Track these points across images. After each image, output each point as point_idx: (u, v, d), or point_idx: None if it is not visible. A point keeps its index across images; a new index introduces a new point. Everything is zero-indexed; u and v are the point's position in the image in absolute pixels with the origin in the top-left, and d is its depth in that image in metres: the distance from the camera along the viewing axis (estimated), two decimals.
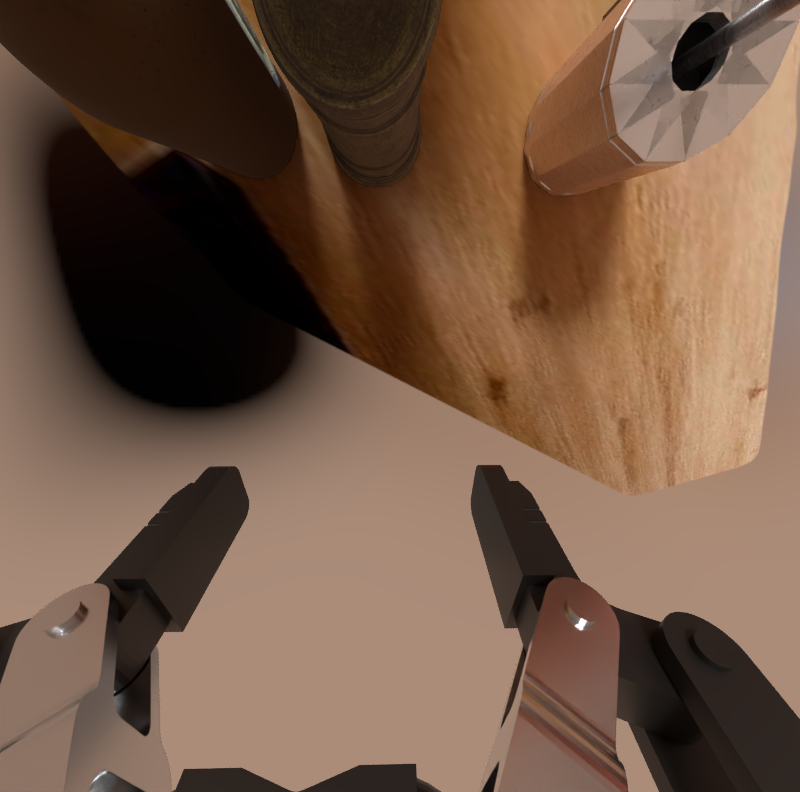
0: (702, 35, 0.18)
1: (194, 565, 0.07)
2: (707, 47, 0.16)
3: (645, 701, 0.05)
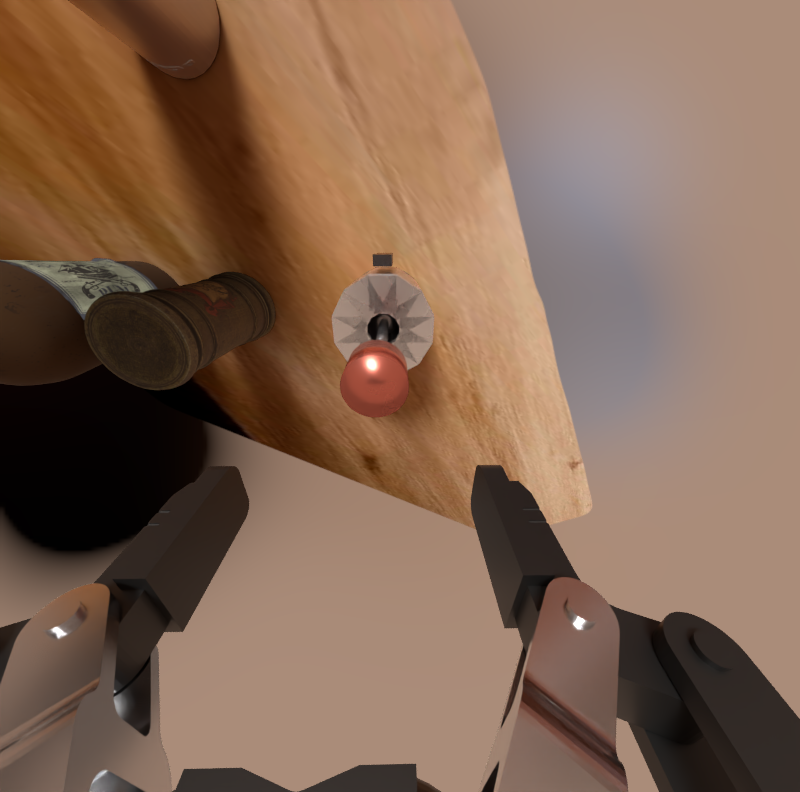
0: None
1: (194, 565, 0.07)
2: None
3: (645, 701, 0.05)
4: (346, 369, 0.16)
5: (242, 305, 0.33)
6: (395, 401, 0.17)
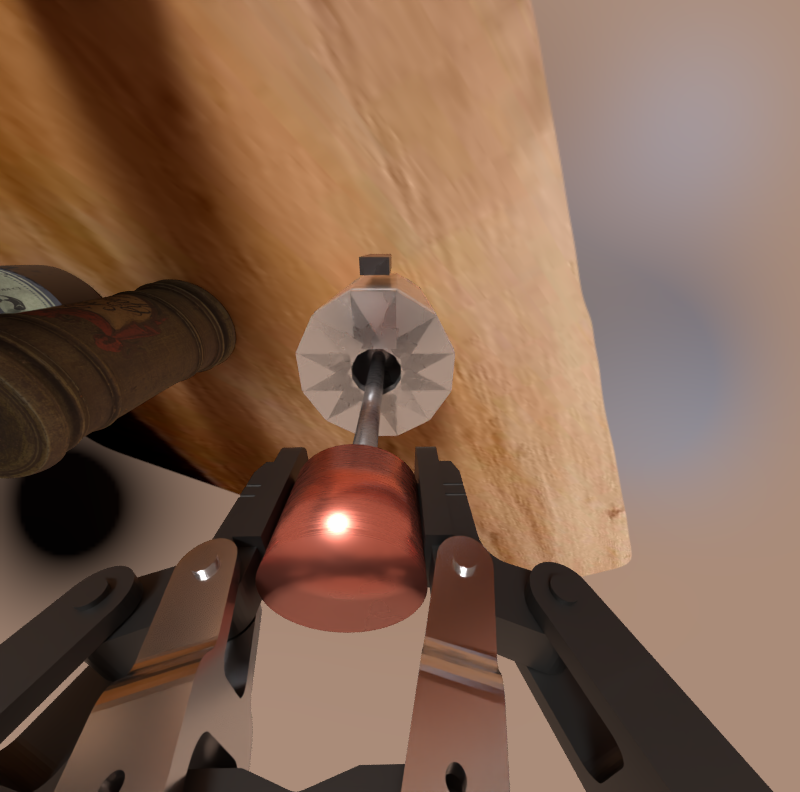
0: None
1: None
2: None
3: (512, 635, 0.06)
4: (266, 560, 0.06)
5: (175, 329, 0.23)
6: (394, 610, 0.07)
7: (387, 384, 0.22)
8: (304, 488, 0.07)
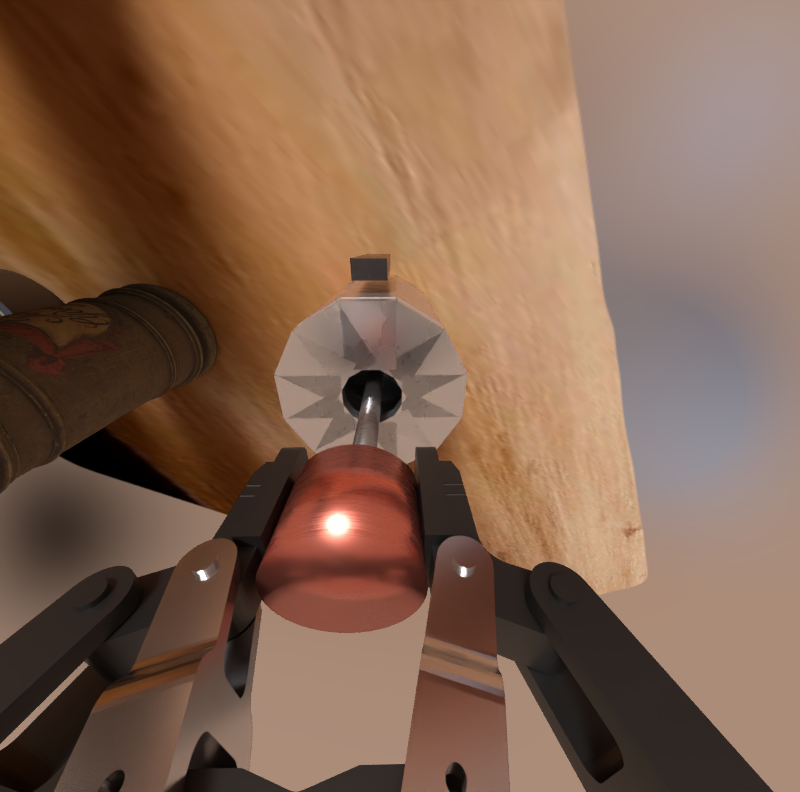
0: None
1: None
2: None
3: (512, 635, 0.06)
4: (266, 560, 0.06)
5: (139, 342, 0.20)
6: (394, 610, 0.07)
7: (387, 384, 0.22)
8: (304, 488, 0.07)
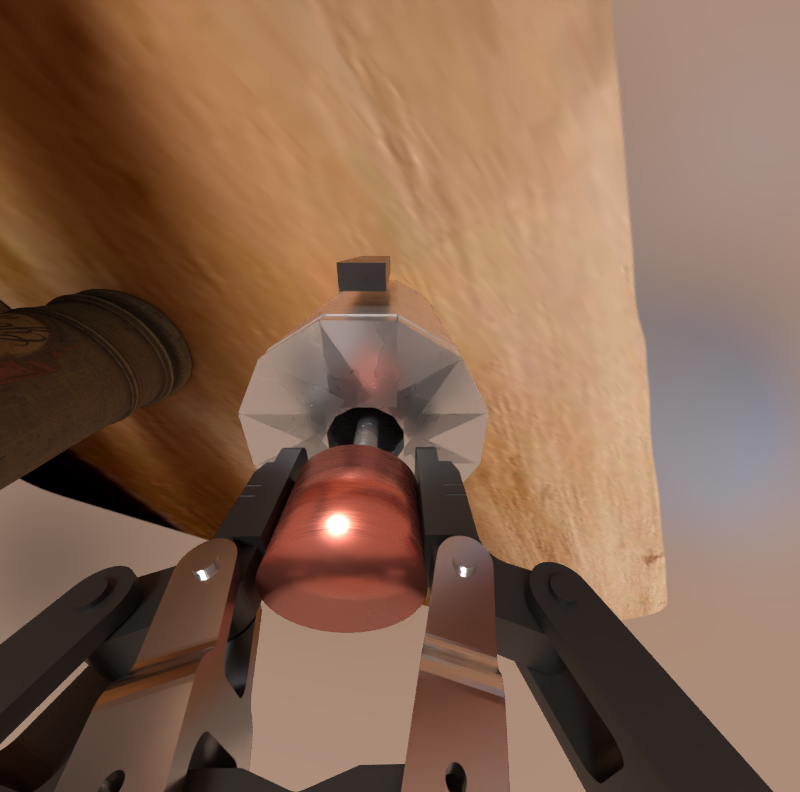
0: None
1: None
2: None
3: (512, 635, 0.06)
4: (266, 560, 0.06)
5: (87, 361, 0.16)
6: (394, 610, 0.07)
7: None
8: (304, 488, 0.07)
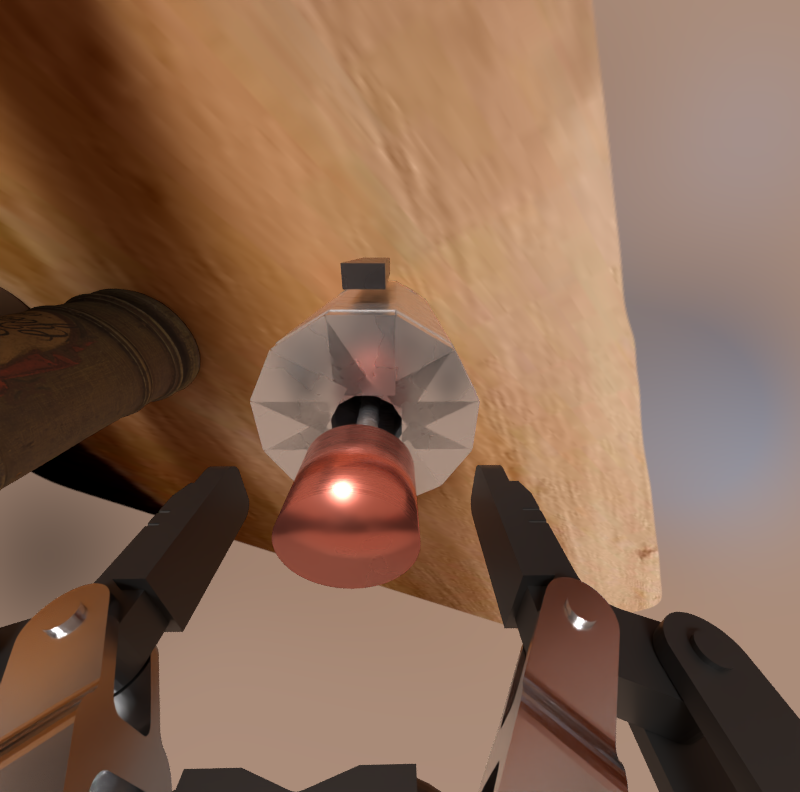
0: None
1: (194, 565, 0.07)
2: None
3: (645, 701, 0.05)
4: (282, 516, 0.07)
5: (105, 356, 0.17)
6: (391, 566, 0.08)
7: None
8: (313, 460, 0.08)
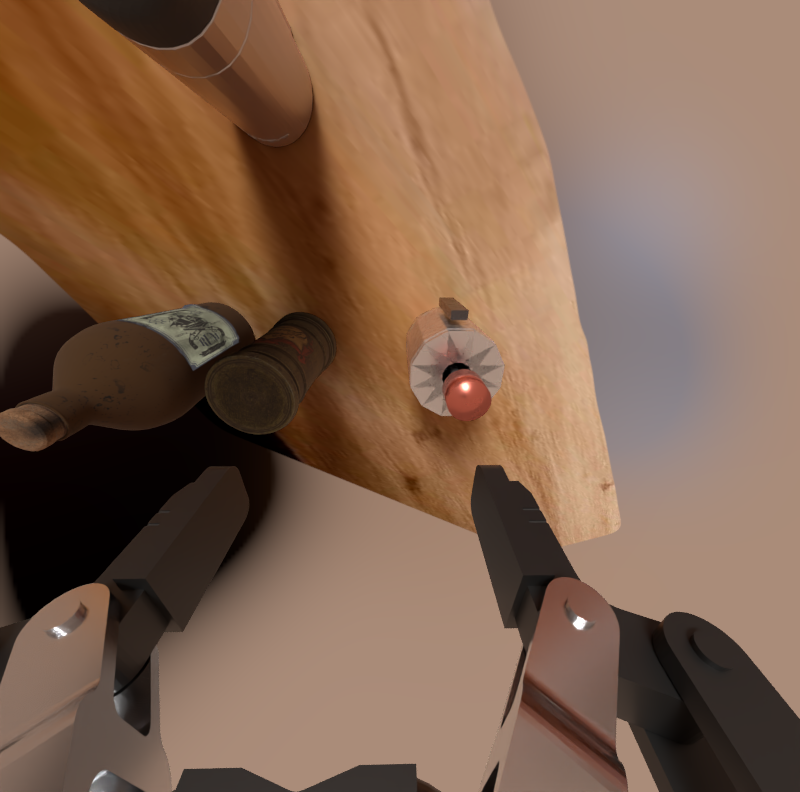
0: None
1: (194, 565, 0.07)
2: None
3: (645, 701, 0.05)
4: (453, 390, 0.25)
5: (317, 348, 0.35)
6: (481, 410, 0.26)
7: None
8: (455, 378, 0.26)
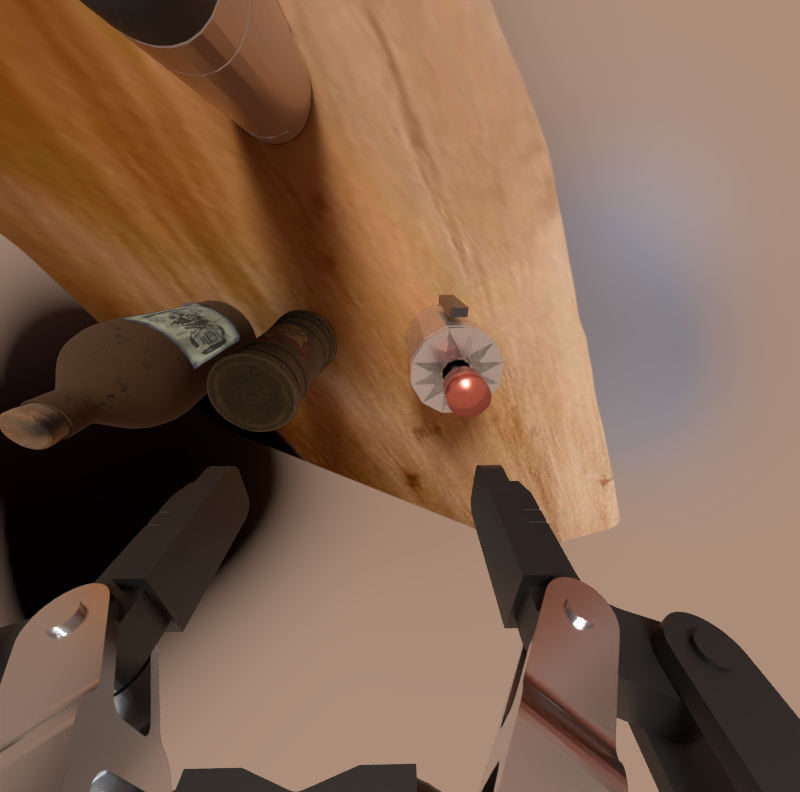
0: None
1: (194, 565, 0.07)
2: None
3: (645, 701, 0.05)
4: (453, 387, 0.25)
5: (317, 345, 0.35)
6: (481, 407, 0.26)
7: None
8: (455, 375, 0.26)
